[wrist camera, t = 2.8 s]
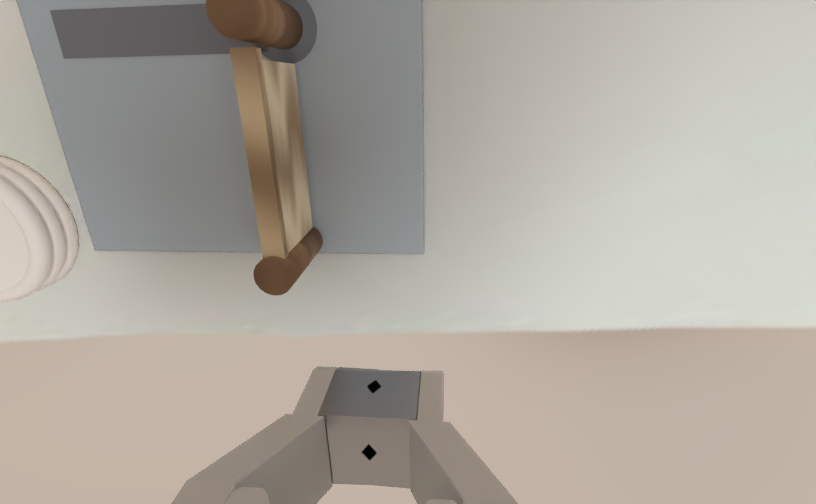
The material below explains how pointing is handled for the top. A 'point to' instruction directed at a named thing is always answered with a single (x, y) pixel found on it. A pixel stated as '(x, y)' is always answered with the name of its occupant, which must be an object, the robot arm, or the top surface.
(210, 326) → the top surface
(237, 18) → the fence fixed panel
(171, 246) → the card
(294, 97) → the panel
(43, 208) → the coaster
